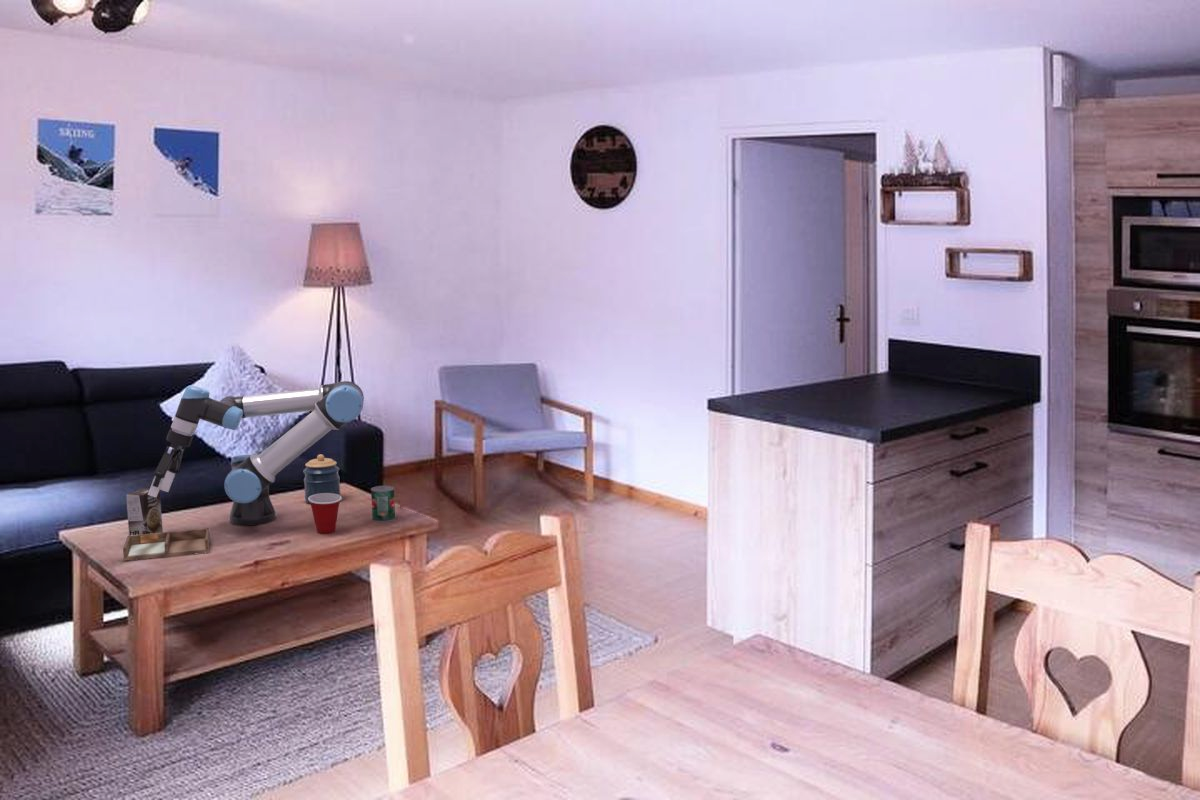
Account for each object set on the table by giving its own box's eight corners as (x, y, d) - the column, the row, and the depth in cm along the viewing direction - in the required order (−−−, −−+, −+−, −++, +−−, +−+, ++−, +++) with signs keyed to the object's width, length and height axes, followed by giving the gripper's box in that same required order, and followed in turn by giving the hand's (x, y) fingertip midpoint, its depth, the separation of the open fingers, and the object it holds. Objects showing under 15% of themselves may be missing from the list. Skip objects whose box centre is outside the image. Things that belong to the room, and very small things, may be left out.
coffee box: (146, 543, 326) (142, 495, 324) (128, 542, 327) (124, 494, 325) (164, 535, 335) (160, 488, 333) (146, 534, 336) (143, 487, 334)
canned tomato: (399, 519, 352) (398, 488, 351) (378, 523, 348) (376, 492, 346) (389, 514, 359) (388, 484, 357) (368, 518, 354) (367, 487, 352)
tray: (209, 540, 329) (209, 528, 329) (208, 552, 316) (207, 539, 316) (128, 548, 321) (127, 535, 321) (124, 561, 308) (123, 548, 308)
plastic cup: (321, 538, 331) (319, 502, 329) (303, 532, 338) (301, 497, 336) (349, 531, 339) (348, 496, 337) (331, 525, 346) (329, 491, 344)
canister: (321, 506, 370) (319, 459, 367) (297, 502, 377) (294, 455, 374) (348, 499, 381) (346, 453, 378) (324, 494, 388) (322, 449, 385)
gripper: (180, 425, 342) (157, 484, 342) (159, 430, 318) (134, 494, 317) (202, 433, 343) (179, 492, 343) (183, 438, 319) (158, 502, 318)
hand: (158, 493), depth 330 cm, fingers open, 13 cm apart
